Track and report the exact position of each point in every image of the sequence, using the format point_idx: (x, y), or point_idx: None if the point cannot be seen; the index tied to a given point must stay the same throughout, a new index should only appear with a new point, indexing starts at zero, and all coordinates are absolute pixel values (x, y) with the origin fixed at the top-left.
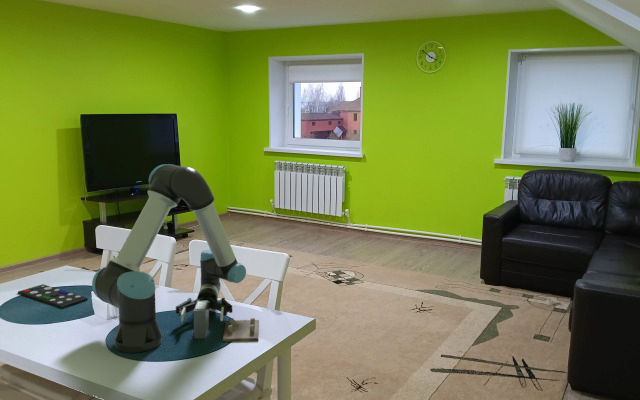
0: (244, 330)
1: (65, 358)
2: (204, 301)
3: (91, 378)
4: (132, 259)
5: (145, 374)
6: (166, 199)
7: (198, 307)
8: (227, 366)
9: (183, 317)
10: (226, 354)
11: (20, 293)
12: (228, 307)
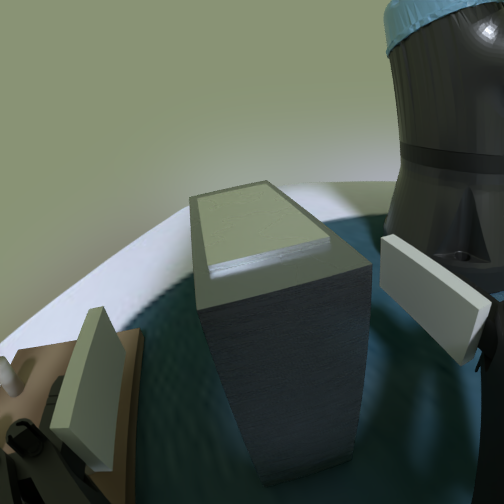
0: (37, 405)
1: None
2: (251, 274)
3: (389, 182)
4: None
5: (309, 201)
6: None
7: (251, 193)
8: (137, 251)
9: (389, 273)
10: (135, 281)
11: None
12: (19, 467)
